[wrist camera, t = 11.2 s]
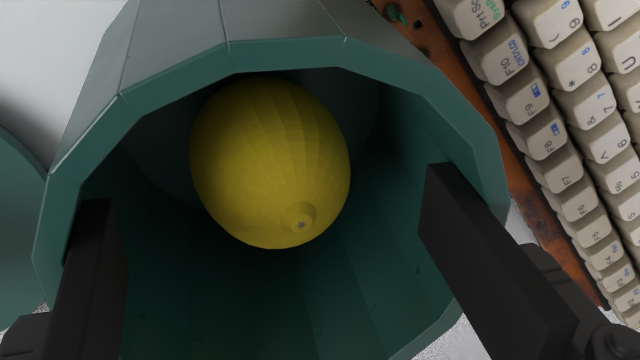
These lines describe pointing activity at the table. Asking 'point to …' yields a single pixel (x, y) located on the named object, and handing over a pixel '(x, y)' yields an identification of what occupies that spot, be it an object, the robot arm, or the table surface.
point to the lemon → (269, 162)
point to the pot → (212, 239)
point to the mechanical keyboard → (554, 120)
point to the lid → (18, 229)
